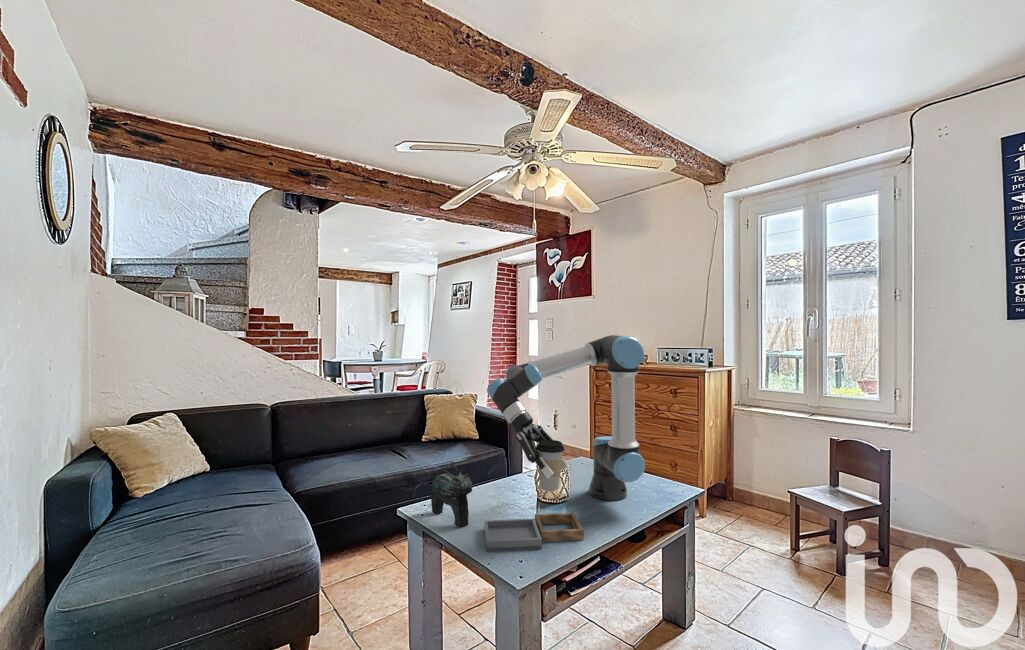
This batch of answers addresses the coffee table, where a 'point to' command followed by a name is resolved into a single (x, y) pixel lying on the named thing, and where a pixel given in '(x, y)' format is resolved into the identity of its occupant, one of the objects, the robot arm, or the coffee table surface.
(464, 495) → the dark green textured figure
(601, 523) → the coffee table surface
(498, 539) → the tray
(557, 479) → the coffee cup
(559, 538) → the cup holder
